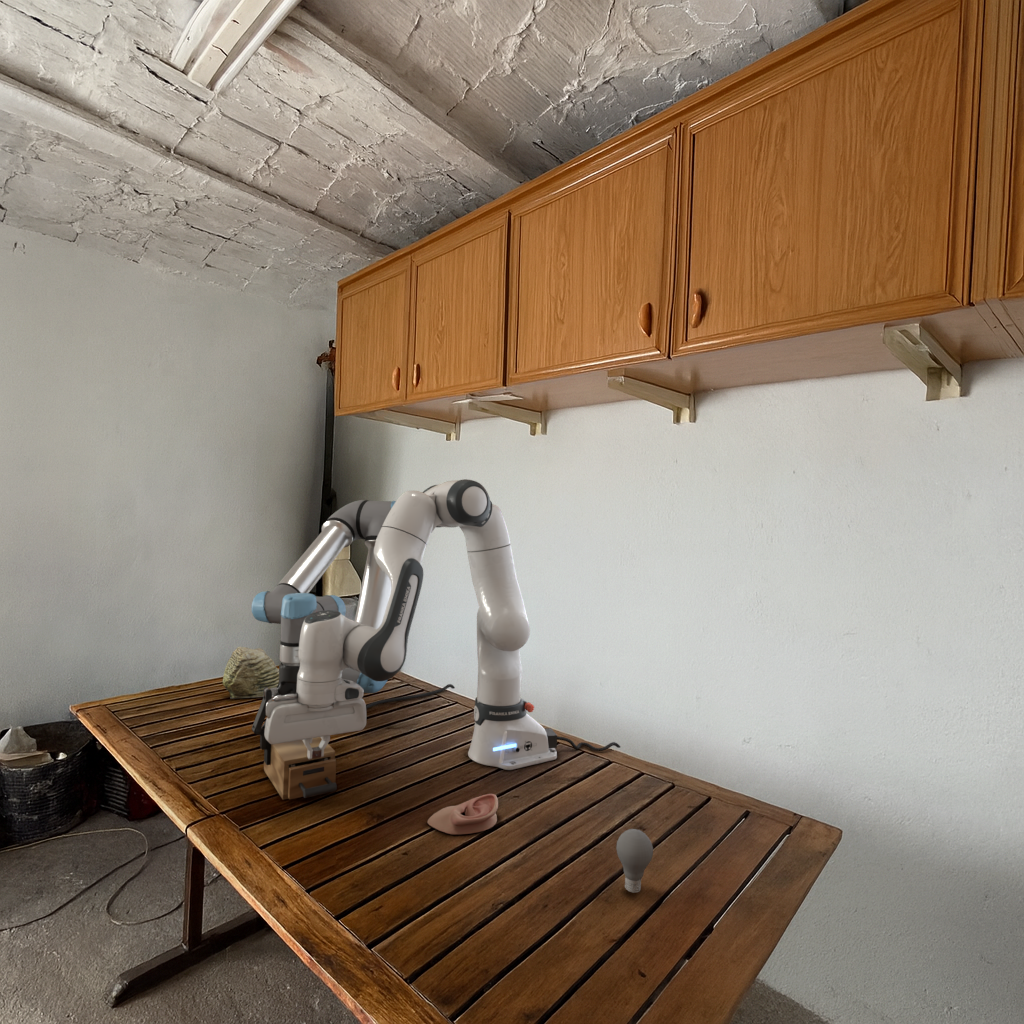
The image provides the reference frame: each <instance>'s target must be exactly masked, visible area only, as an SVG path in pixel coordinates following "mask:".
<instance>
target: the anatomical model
mask: <svg viewBox="0 0 1024 1024" xmlns="http://www.w3.org/2000/svg"><path fill="white" fill-rule="evenodd" d="M498 808H499V799H498V797H497V795H496V794H495V793H487V794H483V795H480V796H476V797H473V798H470V799H469V800H467V801H464V802H462V803H459V804H456V805H449V806H446V807H443V808H441V809H439V810H438V811H436V812H434V813H433V814H432V815H431V816H430V817H429V818H428V819H427V825H429V826H430V827H431V828H433V829H435V830H438V831H440V832H443V833H445V834H448V835H455V836H457V835H468V834H475V833H480V832H484V831H486V830H489V829H492V828H493V827H494V826H495V825H496V824H497V821H498V816H497V811H498Z"/></svg>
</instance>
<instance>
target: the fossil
mask: <svg viewBox="0 0 1024 1024" xmlns="http://www.w3.org/2000/svg"><path fill="white" fill-rule="evenodd" d="M222 676H223V677H222V685H223V687H224V688H225V690H226V691H228V693H229V698H230V699H250V698H263V690H264V688H265V687H268V688H275V687H277V686H278V683H279V668H278V667H277V665H276V663H275V662H274V660H273V659H272V658H271V657H270V656H269V655H268V654H267V653H266V652H265V650H264V649H263V648H260V647H258V648H251V647H247V646H246V647H245V646H238V647H237V648H236V649H235V650H233V651H232V653H231V656H230V657H229V659H228V660H227V663H226V666H225V668H224V671H223V675H222ZM277 695H279V694H278V693H276V694H275V696H277Z"/></svg>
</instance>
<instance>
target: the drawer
mask: <svg viewBox="0 0 1024 1024" xmlns="http://www.w3.org/2000/svg"><path fill="white" fill-rule="evenodd" d="M336 778H337V760H336V758H335V759H331V760H328V758H327V757H326V758H321V759H315V760H310V761H305V762H300V763H295V764H290V765H289V776H288V798H289V799H288V800H289V801H290V800H294V799H298V798H304V799H307V798H310V797H312V798H313V797H316V796H320V795H324V794H329V793H333V792H336V791H337V790H338V789H337V788H338V786H337V783H336V781H337V780H336Z"/></svg>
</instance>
